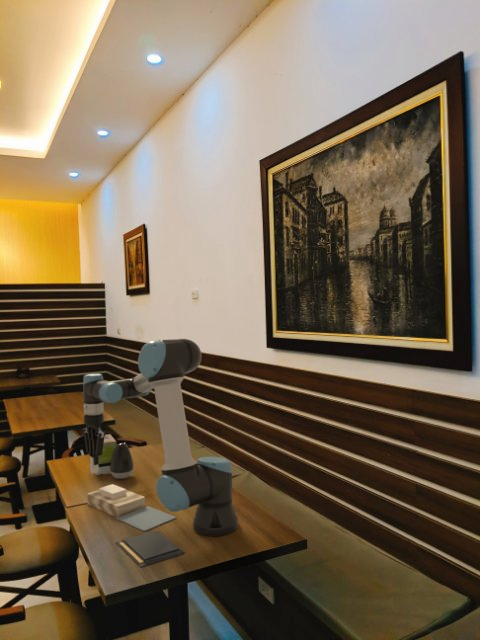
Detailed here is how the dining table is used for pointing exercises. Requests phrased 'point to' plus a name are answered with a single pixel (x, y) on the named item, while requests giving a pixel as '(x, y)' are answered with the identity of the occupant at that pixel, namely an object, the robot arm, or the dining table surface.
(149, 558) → the dark grey flat slab
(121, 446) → the pump dispenser
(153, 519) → the mat
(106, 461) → the tea box
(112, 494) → the cream rectangular block
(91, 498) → the riser
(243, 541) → the dining table surface
